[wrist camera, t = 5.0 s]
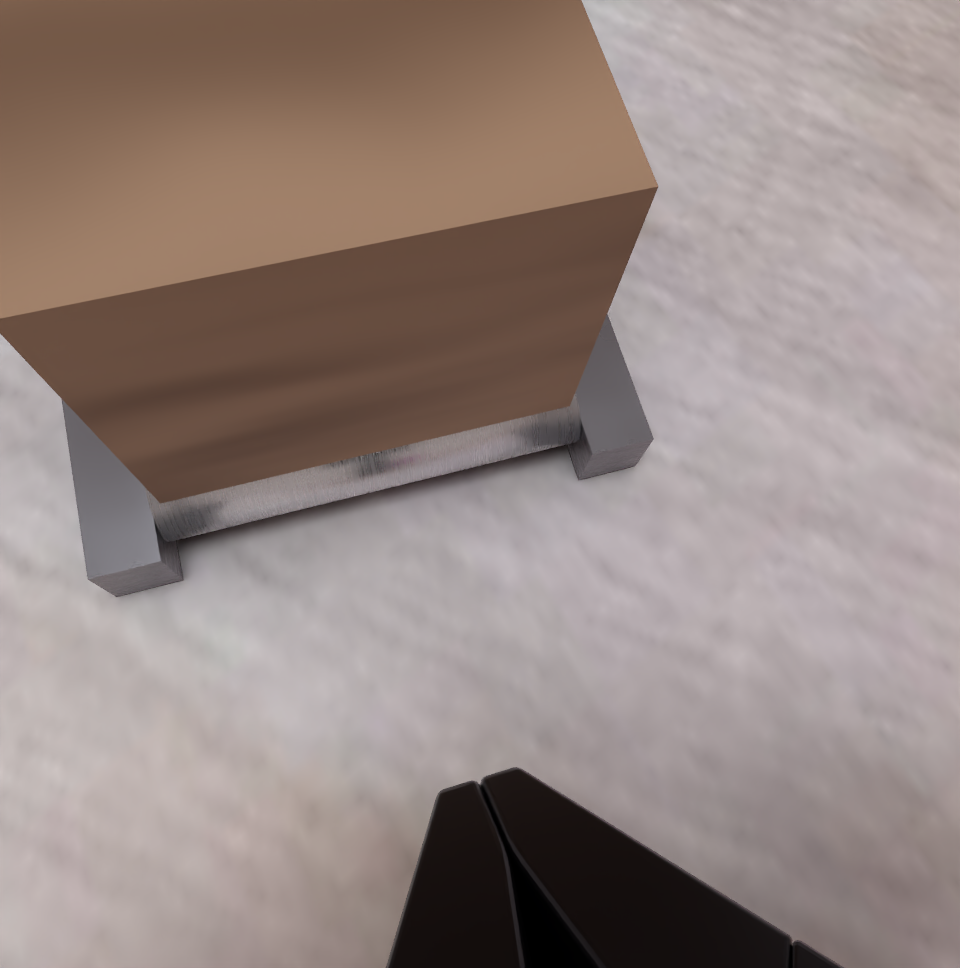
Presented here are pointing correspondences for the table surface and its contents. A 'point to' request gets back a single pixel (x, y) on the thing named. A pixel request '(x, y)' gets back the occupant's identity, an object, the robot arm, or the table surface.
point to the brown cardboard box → (307, 221)
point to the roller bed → (337, 475)
